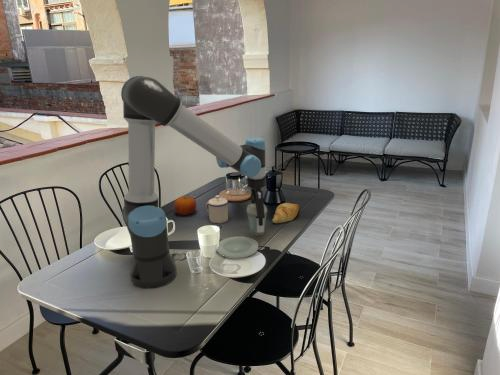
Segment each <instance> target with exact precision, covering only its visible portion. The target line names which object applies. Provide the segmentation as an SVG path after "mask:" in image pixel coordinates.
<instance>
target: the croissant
mask: <svg viewBox="0 0 500 375" xmlns="http://www.w3.org/2000/svg"><path fill="white" fill-rule="evenodd" d="M299 211H300V205H299V204H297V203H292V202H283V203H281V204H279V205H278V206H277V207H276V209H275V213H274V215H273V218H272V221H271V222H272V223H274V224H282V223H288V222H289V221H290V222H291V221H293V220H294V219H296V218H297V215H298V213H299Z"/></svg>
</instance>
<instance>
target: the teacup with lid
mask: <svg viewBox="0 0 500 375" xmlns="http://www.w3.org/2000/svg"><path fill="white" fill-rule="evenodd" d="M228 204H229V201H228V200H227V198H225V197H221V196H220V195H219V194H218V195H215V196H214V197H213V198H210V199H209V200H208V201H207V202H206V203H205V209H206V211H207V212H208V219H209V221H210V222H211V223H213V224H222V223H225V222H227V221H228V219H229V211H228Z"/></svg>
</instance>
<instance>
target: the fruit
mask: <svg viewBox="0 0 500 375" xmlns="http://www.w3.org/2000/svg"><path fill="white" fill-rule="evenodd" d="M173 208H174V210H175V212H176V213H178V214H179V215H182V216H185V215H190V214H192V213H194V212H195V211H196V209H197V201H196V199H195V198H193V197H192V196H189V195H183V196H180V197H178V198H176V199H175V201H174V204H173Z"/></svg>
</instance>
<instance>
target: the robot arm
mask: <svg viewBox="0 0 500 375" xmlns="http://www.w3.org/2000/svg"><path fill="white" fill-rule="evenodd" d="M120 91H121V92H120V96H121V100H122V102H123V103H122V104H123V105H122V108H123V120H125V121H126V122H127V123H128V124H127V125H128V126H127V127H128V128H127V129H128V131H127V133H128V146H127V147H128V192H127V193H125V195H124V196H123V197H124V199H123V200H124V201H123V203H124V204H123V208H122V213H121V214H122V215H121V216H122V220H123V222H124V224H125V225H126V228H127V232H128V234H129V237H130V242H131V248H132V255H133V256H132V257H133V259H132V264H131V268H130V272H129V274H130V282H131V283H132V285H134V286H136V287H138V288H140V289H141V288H142V289H154V288H159V287H163V286H165V285H168V284H170V282H171V283H172V281H173V280H174V279H175V278H176V276H177V275H178V271H177V264H176V262H175V261H174V259H173V257H172V255H171V253H170V246H169V245H170V244H169V235H168V233H169V232H168V223H167V222H168V219H167V216H166V213H165V211H164V209H162V208H161V207H159V195H158V194H157V193H156V192H155V159H156V158H155V156H156V155H155V154H156V152H155V150H156V125H157V123H158V124H160V125H161V126H163V127H169V128H172V129H173V130H175V131H176V132H178V133H179V134H180V135H183V137H185V138H186V139H188V140H190V141H191V142H193V143H194V144H196V145H198V146H199V147H200V148H202V149H203V150H205V151H207V152H208V153H210V154H211V155H212V156H214V157H215V160H216V163H217V165H218V167H219V168H226V169H228V168H232V169H234V170H235V171H237V172H238V173H240V174H241V175H242V176H244V177H246V183H247V184H246V185H247V187H248V188H250V199H249V200H250V204H253V203H256V211H257V216H256V218H257V233H260V232H264V233H265V230H264V218H265V215H264V205H265V204H264V196H263V195H264V193H263V191H262V188H265V187H266V185H267V177H266V171H267V169H268V168H267V167H266V150H267V149H266V143H265V142H266V141H265V139H264V138H262V137H257V136H256V137H247V138H246V139H245V144H242V145H240V144H238V143H237V142H235V141H233V140H232V139H230V138H229V137H227V136H226V135H225V134H224V133H222V132H220V131H219V130H218V129H216V128H215V127H213V126H212V125H210V124H209V123H208V122H207V121H205V120H204V119H202V118H201V117H200V116H198V115H197V114H196V113H194V112H193V111H191V110H190V109H189V108H187V107H185V106H184V105H183V101H182V99H180V98H179V97H177V96H176V95H175V94H173V93H172V92H171V91H170V90H168V89H167V87H165V86H164V85H163V84H162V83H161V82H160V81H158V80H157V79H156V78H152V77H150V76H149V77H148V76H144V75H136V76H132V77H130V78H129V79H127V80H126V81H125V82H124V84H123V85H122V88H121V90H120ZM263 204H264V205H263Z"/></svg>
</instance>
